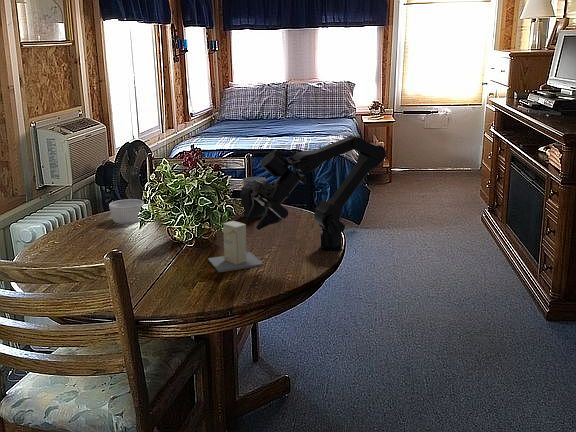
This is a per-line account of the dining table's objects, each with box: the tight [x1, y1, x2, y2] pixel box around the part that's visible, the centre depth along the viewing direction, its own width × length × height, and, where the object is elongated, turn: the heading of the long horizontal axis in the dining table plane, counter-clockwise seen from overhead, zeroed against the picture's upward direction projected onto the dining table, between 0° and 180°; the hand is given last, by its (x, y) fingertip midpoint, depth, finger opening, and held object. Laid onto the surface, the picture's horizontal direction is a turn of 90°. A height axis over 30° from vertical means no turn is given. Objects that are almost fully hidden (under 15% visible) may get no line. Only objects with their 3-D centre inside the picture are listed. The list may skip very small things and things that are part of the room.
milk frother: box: [240, 176, 266, 219], centre depth 241 cm, size 14×16×15 cm
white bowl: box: [108, 198, 145, 225], centre depth 242 cm, size 13×13×7 cm
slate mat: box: [207, 251, 264, 273], centre depth 194 cm, size 14×12×1 cm
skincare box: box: [222, 220, 247, 265], centre depth 193 cm, size 6×4×12 cm
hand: (252, 225), depth 194 cm, fingers open, 9 cm apart
